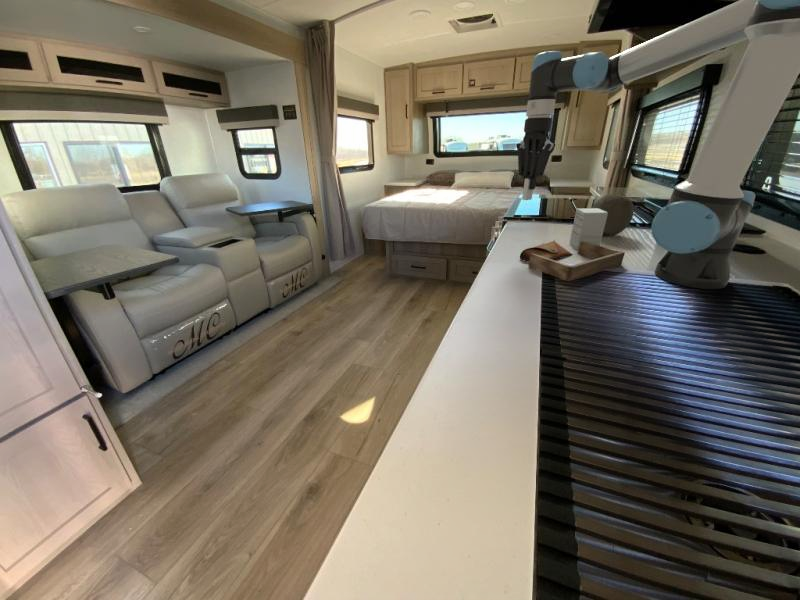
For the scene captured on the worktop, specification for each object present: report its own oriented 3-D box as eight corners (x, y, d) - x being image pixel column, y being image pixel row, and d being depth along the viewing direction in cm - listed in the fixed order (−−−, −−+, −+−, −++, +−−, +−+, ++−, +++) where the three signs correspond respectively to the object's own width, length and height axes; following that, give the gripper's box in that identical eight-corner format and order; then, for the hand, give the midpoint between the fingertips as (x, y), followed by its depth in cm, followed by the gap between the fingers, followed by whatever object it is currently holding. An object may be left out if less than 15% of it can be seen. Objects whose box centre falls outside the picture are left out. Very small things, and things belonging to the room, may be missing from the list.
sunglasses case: (543, 266, 98) (536, 245, 98) (524, 271, 104) (517, 251, 104) (574, 254, 108) (568, 234, 108) (555, 259, 114) (549, 241, 114)
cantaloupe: (634, 240, 120) (647, 198, 114) (592, 239, 122) (603, 197, 116) (617, 230, 133) (628, 191, 126) (580, 229, 135) (588, 191, 128)
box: (621, 265, 98) (625, 252, 96) (568, 281, 88) (571, 267, 86) (579, 253, 109) (582, 241, 107) (528, 266, 99) (530, 253, 97)
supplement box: (590, 244, 118) (598, 207, 112) (599, 250, 111) (609, 212, 105) (568, 243, 118) (576, 207, 113) (576, 250, 112) (584, 212, 106)
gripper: (513, 118, 101) (503, 197, 111) (549, 115, 91) (535, 203, 101) (530, 118, 104) (519, 195, 115) (566, 116, 94) (551, 201, 104)
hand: (526, 199), depth 108 cm, fingers closed
